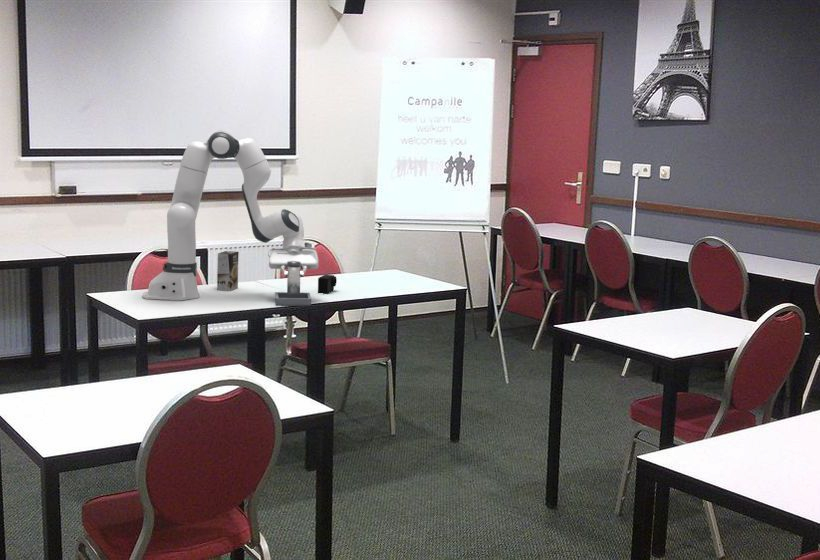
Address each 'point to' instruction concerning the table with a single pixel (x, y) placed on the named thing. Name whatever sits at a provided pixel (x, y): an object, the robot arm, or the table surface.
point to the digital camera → (326, 283)
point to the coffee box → (227, 270)
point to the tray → (292, 299)
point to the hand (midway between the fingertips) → (293, 276)
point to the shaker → (293, 277)
